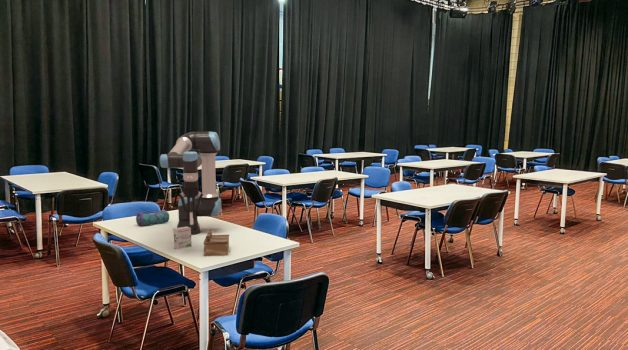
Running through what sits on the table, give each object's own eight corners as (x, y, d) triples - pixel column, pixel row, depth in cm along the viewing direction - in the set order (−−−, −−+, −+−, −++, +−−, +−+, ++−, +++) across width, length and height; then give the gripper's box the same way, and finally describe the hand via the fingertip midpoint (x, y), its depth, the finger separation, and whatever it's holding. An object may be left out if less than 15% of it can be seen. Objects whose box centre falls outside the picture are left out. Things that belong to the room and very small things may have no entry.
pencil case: (163, 221, 341) (163, 208, 340) (169, 223, 335) (169, 209, 334) (135, 225, 327) (135, 211, 326) (141, 227, 321) (140, 213, 320)
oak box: (207, 249, 267) (207, 237, 267) (229, 248, 269) (228, 236, 268) (204, 257, 252) (203, 244, 251) (227, 256, 253) (227, 243, 252)
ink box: (187, 246, 274) (187, 225, 273) (191, 247, 271) (191, 227, 269) (173, 248, 269) (173, 228, 267) (177, 250, 265) (176, 229, 264)
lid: (206, 236, 267) (206, 229, 266) (229, 235, 268) (229, 229, 268) (203, 244, 250) (203, 237, 250) (227, 243, 252) (227, 236, 252)
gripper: (177, 181, 250) (178, 225, 252) (202, 181, 251) (203, 225, 254) (179, 179, 257) (180, 223, 259) (204, 179, 259) (204, 222, 261)
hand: (191, 224), depth 256 cm, fingers closed
